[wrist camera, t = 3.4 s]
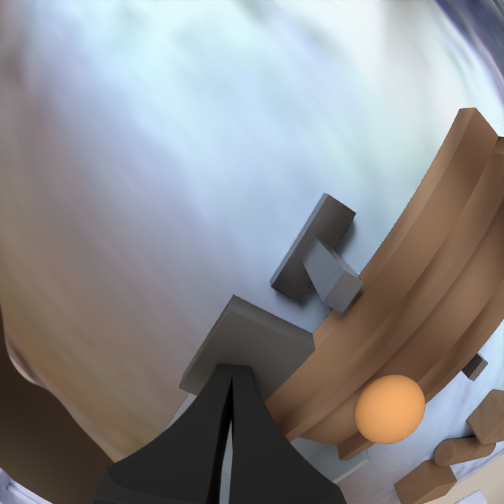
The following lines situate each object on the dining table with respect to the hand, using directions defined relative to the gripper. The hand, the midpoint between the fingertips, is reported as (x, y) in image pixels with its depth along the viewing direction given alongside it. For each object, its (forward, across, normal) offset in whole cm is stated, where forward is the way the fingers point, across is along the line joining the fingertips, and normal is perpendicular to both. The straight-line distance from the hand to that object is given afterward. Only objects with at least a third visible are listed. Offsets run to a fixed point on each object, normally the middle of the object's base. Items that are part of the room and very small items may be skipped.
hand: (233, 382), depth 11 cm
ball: (-2, -6, 0) cm, 7 cm away
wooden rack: (0, -6, -3) cm, 7 cm away
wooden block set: (+5, -30, +19) cm, 36 cm away
